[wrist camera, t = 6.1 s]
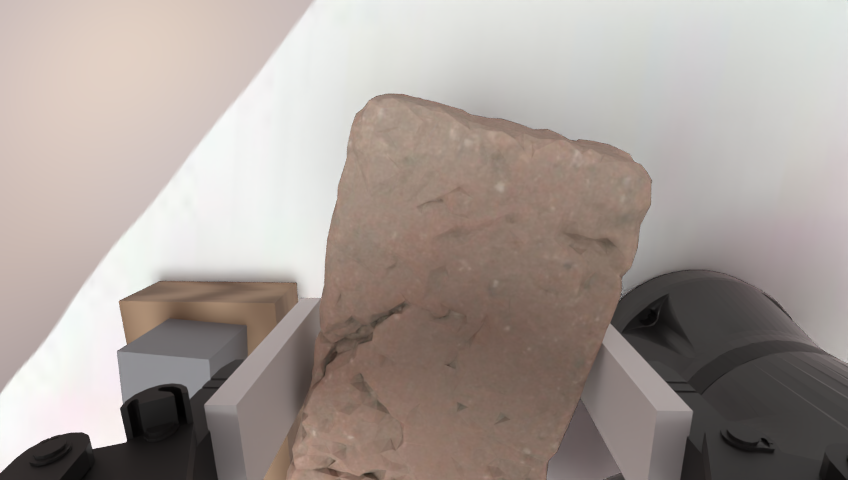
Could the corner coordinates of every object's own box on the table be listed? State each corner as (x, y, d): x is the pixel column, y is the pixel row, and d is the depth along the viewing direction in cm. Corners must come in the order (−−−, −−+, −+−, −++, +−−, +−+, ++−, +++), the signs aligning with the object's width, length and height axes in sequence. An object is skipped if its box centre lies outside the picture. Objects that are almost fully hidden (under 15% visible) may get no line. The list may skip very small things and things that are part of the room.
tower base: (298, 281, 35) (274, 303, 30) (310, 439, 38) (291, 482, 33) (163, 279, 35) (118, 301, 30) (188, 436, 39) (152, 477, 34)
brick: (377, 95, 14) (346, 72, 9) (610, 149, 14) (692, 152, 9) (308, 474, 18) (262, 589, 13) (489, 514, 18) (505, 641, 14)
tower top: (246, 325, 30) (209, 359, 25) (251, 469, 33) (218, 524, 28) (169, 318, 30) (116, 351, 25) (180, 462, 33) (135, 516, 28)
